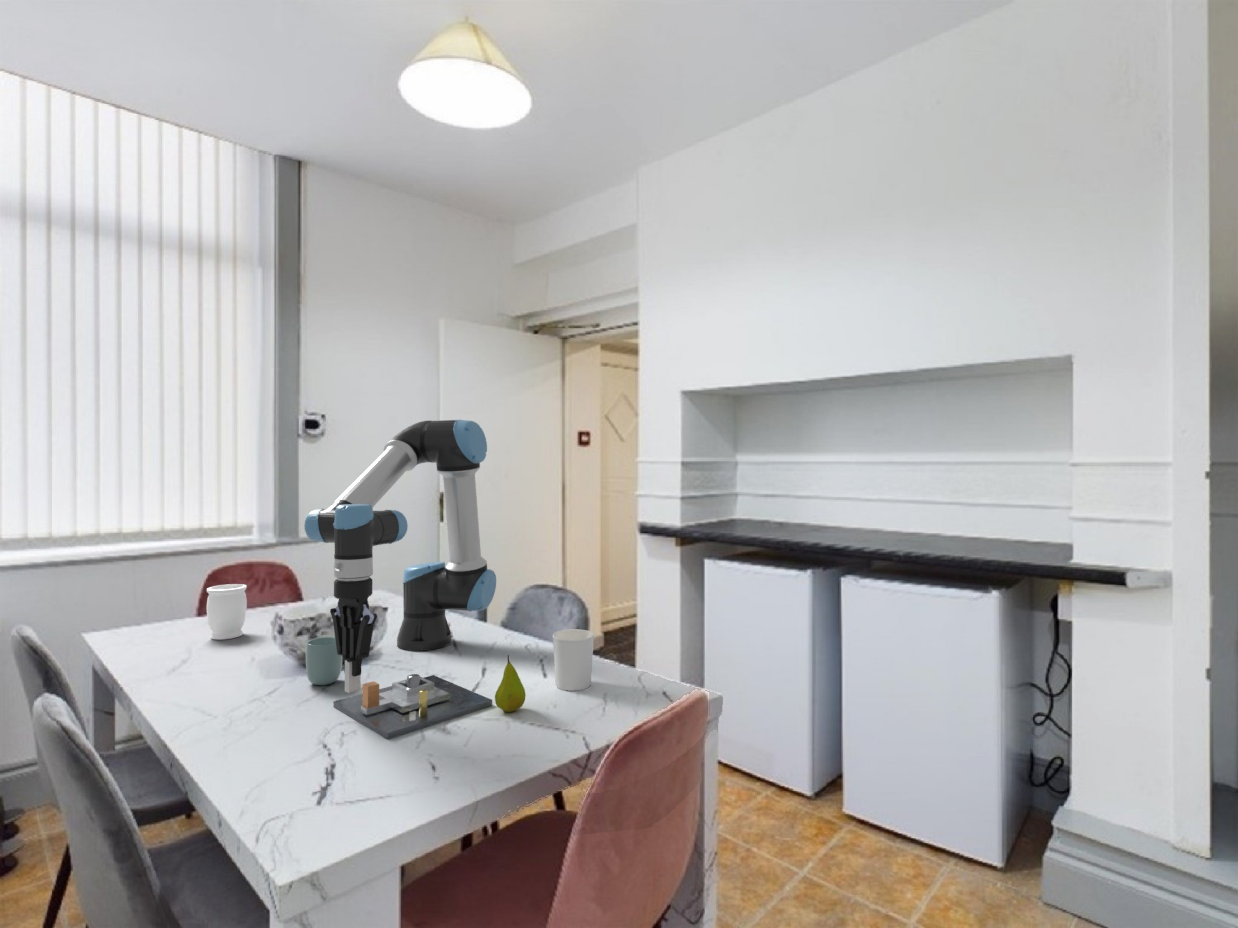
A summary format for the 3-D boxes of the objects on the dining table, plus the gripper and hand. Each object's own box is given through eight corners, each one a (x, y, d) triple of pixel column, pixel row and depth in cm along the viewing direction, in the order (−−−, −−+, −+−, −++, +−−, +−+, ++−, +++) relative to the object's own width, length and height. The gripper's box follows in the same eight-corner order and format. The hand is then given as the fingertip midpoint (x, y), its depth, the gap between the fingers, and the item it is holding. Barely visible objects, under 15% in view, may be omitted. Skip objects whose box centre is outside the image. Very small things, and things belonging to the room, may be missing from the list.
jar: (233, 641, 191) (233, 590, 191) (198, 641, 191) (198, 590, 191) (254, 631, 202) (254, 583, 202) (220, 631, 202) (220, 583, 202)
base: (433, 679, 158) (433, 652, 158) (492, 705, 141) (492, 675, 141) (333, 706, 140) (333, 676, 140) (387, 739, 124) (387, 705, 124)
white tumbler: (543, 685, 154) (543, 634, 154) (574, 675, 161) (574, 626, 161) (572, 695, 147) (572, 642, 147) (602, 684, 155) (602, 634, 155)
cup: (328, 689, 151) (328, 646, 151) (298, 687, 152) (298, 644, 152) (348, 678, 158) (348, 637, 158) (320, 676, 160) (320, 635, 160)
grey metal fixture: (423, 686, 148) (423, 662, 148) (449, 698, 141) (449, 672, 141) (351, 706, 136) (351, 679, 136) (376, 720, 129) (376, 692, 129)
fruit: (524, 704, 142) (525, 649, 142) (525, 714, 136) (525, 657, 136) (495, 705, 141) (495, 650, 141) (494, 716, 135) (494, 658, 135)
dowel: (424, 713, 133) (424, 688, 133) (428, 715, 132) (428, 690, 132) (417, 715, 132) (417, 690, 132) (421, 717, 131) (421, 692, 131)
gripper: (318, 577, 137) (317, 689, 137) (356, 583, 130) (355, 701, 130) (350, 572, 144) (349, 679, 144) (388, 578, 137) (387, 691, 136)
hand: (352, 690), depth 137 cm, fingers closed
